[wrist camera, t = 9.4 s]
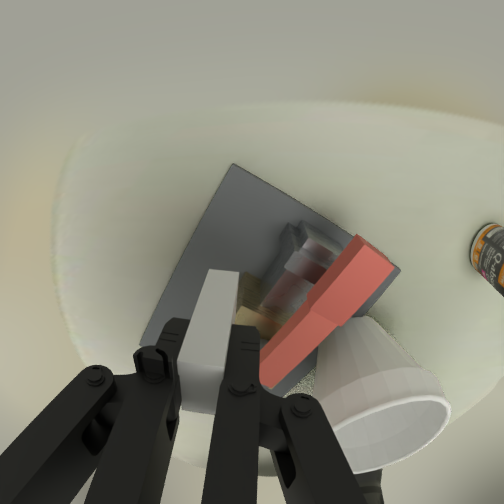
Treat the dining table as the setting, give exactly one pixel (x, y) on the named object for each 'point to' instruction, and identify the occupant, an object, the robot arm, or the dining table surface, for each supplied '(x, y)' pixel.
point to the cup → (376, 396)
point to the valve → (285, 279)
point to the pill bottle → (490, 255)
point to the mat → (243, 252)
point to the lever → (324, 308)
